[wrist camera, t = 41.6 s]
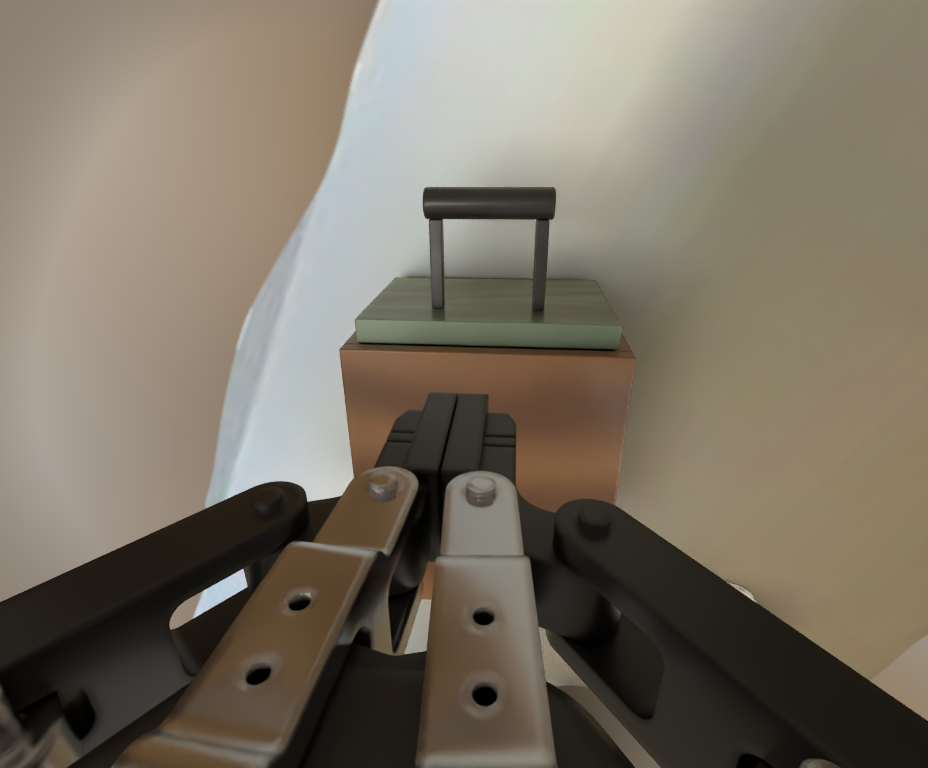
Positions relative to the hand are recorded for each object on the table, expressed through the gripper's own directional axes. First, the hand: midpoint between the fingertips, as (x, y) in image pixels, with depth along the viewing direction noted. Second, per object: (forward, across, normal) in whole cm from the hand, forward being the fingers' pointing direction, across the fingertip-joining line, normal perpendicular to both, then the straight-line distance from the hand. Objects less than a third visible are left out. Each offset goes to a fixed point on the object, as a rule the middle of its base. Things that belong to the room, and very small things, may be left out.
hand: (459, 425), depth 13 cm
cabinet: (+21, 0, +10) cm, 23 cm away
